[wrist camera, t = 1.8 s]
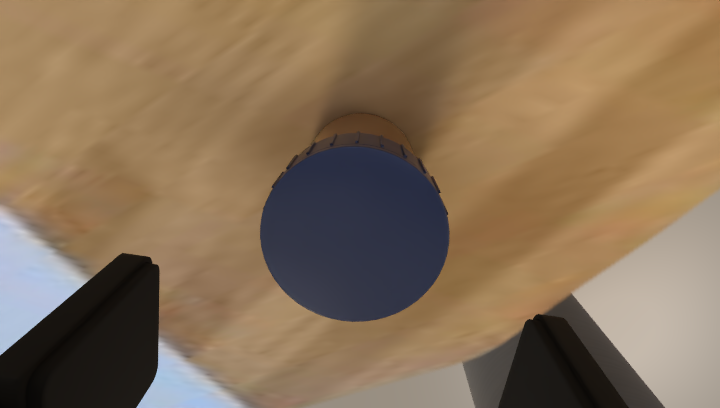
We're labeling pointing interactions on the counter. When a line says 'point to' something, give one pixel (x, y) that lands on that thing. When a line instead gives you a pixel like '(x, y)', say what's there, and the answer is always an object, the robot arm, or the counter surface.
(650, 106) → the counter surface
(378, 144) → the lid
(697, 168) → the counter surface
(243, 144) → the counter surface
